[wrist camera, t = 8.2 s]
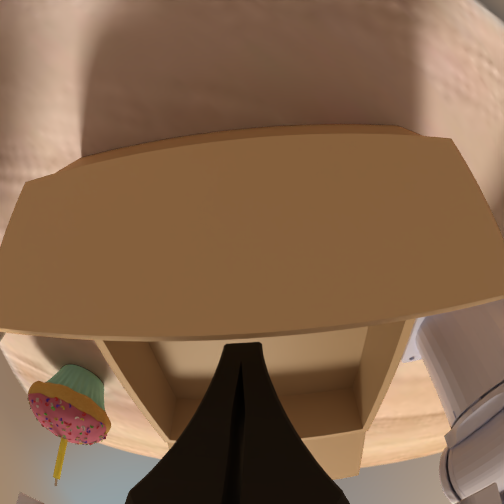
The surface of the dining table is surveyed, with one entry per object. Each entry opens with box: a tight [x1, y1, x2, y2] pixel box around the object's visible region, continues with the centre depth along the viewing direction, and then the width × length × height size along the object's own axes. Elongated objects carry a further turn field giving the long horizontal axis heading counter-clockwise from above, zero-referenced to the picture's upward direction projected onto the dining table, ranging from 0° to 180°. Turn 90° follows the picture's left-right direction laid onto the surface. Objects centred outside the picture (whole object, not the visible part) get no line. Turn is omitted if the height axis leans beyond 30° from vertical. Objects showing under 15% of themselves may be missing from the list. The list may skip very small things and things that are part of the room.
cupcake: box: [28, 364, 111, 486], centre depth 20 cm, size 9×8×12 cm
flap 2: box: [168, 431, 366, 480], centre depth 22 cm, size 17×6×1 cm, turn 95°
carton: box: [56, 124, 422, 443], centre depth 17 cm, size 17×22×5 cm
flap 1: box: [0, 134, 504, 341], centre depth 8 cm, size 17×6×1 cm
